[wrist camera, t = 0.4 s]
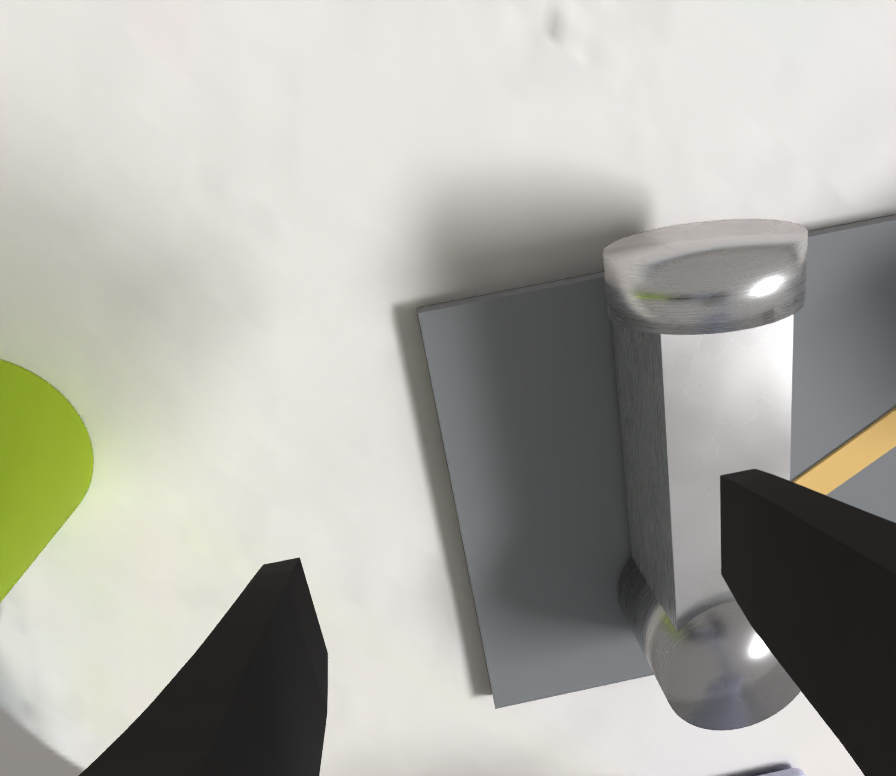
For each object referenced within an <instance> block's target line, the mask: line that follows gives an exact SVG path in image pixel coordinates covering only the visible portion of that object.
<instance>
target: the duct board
mask: <svg viewBox="0 0 896 776" xmlns="http://www.w3.org/2000/svg"><path fill="white" fill-rule="evenodd" d="M417 312H418V317H419V322H420V327H421V332H422V337H423V342H424V347H425V352H426V357H427V363H428V368H429V373H430V378H431V383H432V388H433V393H434V398H435V403H436V408H437V414H438V419H439V424H440V429H441V434H442V439H443V444H444V449H445V454H446V459H447V465H448V470H449V475H450V480H451V485H452V490H453V495H454V500H455V505H456V510H457V516H458V521H459V526H460V531H461V536H462V541H463V546H464V551H465V556H466V561H467V567H468V572H469V577H470V582H471V587H472V592H473V597H474V602H475V607H476V612H477V617H478V623H479V628H480V633H481V638H482V643H483V648H484V653H485V658H486V663H487V668H488V674H489V679H490V684H491V689H492V694H493V699H494V704H495V709H497V708H501V707H506V706H511V705H515V704H520V703H524V702H529V701H534V700H538V699H543V698H548V697H552V696H557V695H562V694H566V693H571V692H576V691H580V690H585V689H590V688H594V687H599V686H603V685H608V684H613V683H617V682H622V681H627V680H631V679H636V678H641V677H645V676H650V675H654V673H653V671H652V669H651V667H650V665H649V663H648V661H647V659H646V657H645V655H644V653H643V651H642V650H641V648H640V646H639V644H638V642H637V640H636V638H635V636H634V634H633V632H632V630H631V628H630V626H629V624H628V622H627V620H626V618H625V616H624V615H623V613H622V611H621V608H620V605H619V602H618V583H619V580H620V576H621V574H622V572H623V569H624V568H625V566H626V564H627V563H628V561H629V560H630V559H631V557H632V554H631V542H630V530H629V518H628V507H627V495H626V483H625V471H624V459H623V447H622V435H621V423H620V411H619V400H618V388H617V376H616V364H615V352H614V340H613V328H612V320H611V319H610V318H609V316H608V311H607V299H606V288H605V276H604V272H599V273H594V274H589V275H584V276H579V277H574V278H569V279H563V280H558V281H553V282H548V283H543V284H538V285H533V286H528V287H522V288H517V289H512V290H507V291H502V292H497V293H492V294H487V295H482V296H476V297H471V298H466V299H461V300H456V301H451V302H446V303H441V304H435V305H430V306H425V307H420V308H417ZM790 481H791V482H794V483H797V484H799V485H802V486H804V487H807V488H809V489H811V490H814V491H816V492H819V493H821V494H824V495H826V496H829V497H831V498H834V499H836V500H839V501H841V502H844V503H846V504H849V505H851V506H854V507H856V508H859V509H861V510H864V511H866V512H869V513H871V514H874V515H876V516H879V517H882V518H884V519H887V520H889V521H892V522H895V523H896V215H891V216H886V217H881V218H876V219H871V220H865V221H860V222H855V223H850V224H845V225H840V226H835V227H830V228H824V229H819V230H814V231H809V232H808V245H807V280H806V303H805V305H804V306H803V308H801V309H800V310H799V311H798V312H796V313H795V314H793V357H792V404H791V451H790Z"/></svg>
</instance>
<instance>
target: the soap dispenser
mask: <svg viewBox="0 0 896 776" xmlns="http://www.w3.org/2000/svg"><path fill="white" fill-rule="evenodd" d="M92 473H93V450H92V445H91V441H90V438H89V435H88V432H87V430H86V427H85V425H84V423H83V421H82V420H81V418H80V416H79V415H78V413H77V412H76V410H75V409H74V408H73V406H72V405H71V404H70V403H69V401H68V400H67V399H66V398H65V397H64V396H63V395H62V394H61V393H60V392H59V391H58V390H56V389H55V388H54V387H53V386H52V385H50V384H49V383H48V382H46V381H45V380H43V379H42V378H40V377H39V376H37V375H36V374H34V373H32V372H30V371H28V370H26V369H24V368H22V367H20V366H17V365H15V364H12V363H10V362H6V361H3V360H0V603H1V601H2V600H3V599H4V598H5V596H6V595H7V594H8V593H9V591H10V590H11V589H12V588H13V586H14V585H15V584H16V583H17V581H18V580H19V579H20V578H21V576H22V575H23V574H24V573H25V571H26V570H27V569H28V568H29V566H30V565H31V564H32V563H33V561H34V560H35V559H36V558H37V556H38V555H39V554H40V553H41V551H42V550H43V549H44V548H45V547H46V545H47V544H48V543H49V542H50V540H51V539H52V538H53V537H54V535H55V534H56V533H57V532H58V530H59V529H60V528H61V527H62V525H63V524H64V523H65V522H66V520H67V519H68V518H69V517H70V515H71V514H72V513H73V512H74V510H75V509H76V508H77V507H78V505H79V504H80V503H81V501H82V500H83V498H84V496H85V495H86V493H87V490H88V488H89V485H90V482H91V478H92Z"/></svg>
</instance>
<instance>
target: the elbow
mask: <svg viewBox="0 0 896 776" xmlns="http://www.w3.org/2000/svg"><path fill="white" fill-rule="evenodd" d="M807 245H808V230H807V229H806V228H805V227H804V226H802V225H799V224H796V223H792V222H787V221H780V220H767V219H732V220H716V221H705V222H696V223H688V224H681V225H674V226H669V227H663V228H658V229H653V230H649V231H645V232H641V233H637V234H634V235H630V236H627V237H624V238H622V239H619V240H617V241H615V242H613V243H611V244H609V245H608V246H606V247H605V248H604V250H603V264H604V276H605V288H606V299H607V311H608V316H609V318H610V319H611V320H612V328H613V340H614V352H615V364H616V376H617V388H618V400H619V411H620V423H621V435H622V447H623V459H624V471H625V483H626V495H627V507H628V518H629V530H630V542H631V554H632V557H631V559H630V560H629V561H628V563H627V564H626V566H625V568H624V569H623V572H622V574H621V576H620V580H619V583H618V602H619V605H620V608H621V611H622V613H623V615H624V616H625V618H626V620H627V622H628V624H629V626H630V628H631V630H632V632H633V634H634V636H635V638H636V640H637V642H638V644H639V646H640V648H641V650H642V651H643V653H644V655H645V657H646V659H647V661H648V663H649V665H650V667H651V669H652V671H653V673H654V675H655V677H656V679H657V681H658V683H659V685H660V686H661V688H662V690H663V692H664V694H665V696H666V698H667V700H668V702H669V704H670V706H671V707H672V709H673V710H674V711H675V713H676V714H677V715H678V716H679V717H681V718H682V719H683V720H685V721H686V722H688V723H690V724H692V725H694V726H697V727H700V728H704V729H710V730H733V729H739V728H743V727H747V726H751V725H753V724H756V723H759V722H761V721H763V720H765V719H767V718H769V717H771V716H773V715H774V714H776V713H777V712H779V711H780V710H782V709H783V708H784V707H786V706H787V705H788V704H789V703H790V702H791V701H792V700H793V699H794V698H795V697H796V696H797V695H798V694H799V692H800V691H801V690H800V689H799V688H798V686H797V685H796V684H795V683H794V681H793V680H792V679H791V677H790V676H789V675H788V674H787V672H786V671H785V670H784V668H783V667H782V666H781V665H780V663H779V662H778V661H777V659H776V658H775V657H774V655H773V654H772V653H771V651H770V650H769V649H768V648H767V646H766V645H765V644H764V642H763V641H762V640H761V638H760V637H759V636H758V634H757V633H756V632H755V630H754V629H753V628H752V626H751V625H750V623H749V621H748V620H747V618H746V617H745V615H744V613H743V612H742V610H741V608H740V607H739V605H738V603H737V602H736V600H735V598H734V596H733V594H732V593H731V591H730V589H729V587H728V586H727V584H726V582H725V580H724V578H723V577H722V575H721V518H720V475H724V474H730V473H735V472H740V471H745V470H750V469H758V470H761V471H764V472H767V473H770V474H773V475H776V476H778V477H781V478H784V479H786V480H789V481H790V451H791V404H792V357H793V314H795V313H796V312H798V311H799V310H800V309H801V308H803V306H804V305H805V303H806V280H807Z"/></svg>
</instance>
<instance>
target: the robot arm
mask: <svg viewBox="0 0 896 776" xmlns="http://www.w3.org/2000/svg"><path fill="white" fill-rule="evenodd" d="M720 518H721V575H722V577H723V578H724V580H725V582H726V584H727V586H728V587H729V589H730V591H731V593H732V594H733V596H734V598H735V600H736V602H737V603H738V605H739V607H740V608H741V610H742V612H743V613H744V615H745V617H746V618H747V620H748V621H749V623H750V625H751V626H752V628H753V629H754V630H755V632H756V633H757V634H758V636H759V637H760V638H761V640H762V641H763V642H764V644H765V645H766V646H767V648H768V649H769V650H770V651H771V653H772V654H773V655H774V657H775V658H776V659H777V661H778V662H779V663H780V665H781V666H782V667H783V668H784V670H785V671H786V672H787V674H788V675H789V676H790V677H791V679H792V680H793V681H794V683H795V684H796V685H797V686H798V688H799V689H800V690H801V692H802V693H803V694H804V695H805V697H806V698H807V699H808V701H809V702H810V703H811V704H812V706H813V707H814V708H815V710H816V711H817V712H818V713H819V715H820V716H821V717H822V719H823V720H824V721H825V722H826V724H827V725H828V726H829V728H830V729H831V730H832V731H833V733H834V734H835V735H836V737H837V738H838V739H839V740H840V742H841V743H842V744H843V746H844V747H845V749H846V750H847V751H848V753H849V754H850V756H851V757H852V758H853V760H854V761H855V762H856V764H857V765H858V767H859V768H860V769H861V771H862V772H863V774H864V775H865V776H896V523H895V522H892V521H889V520H887V519H884V518H882V517H879V516H876V515H874V514H871V513H869V512H866V511H864V510H861V509H859V508H856V507H854V506H851V505H849V504H846V503H844V502H841V501H839V500H836V499H834V498H831V497H829V496H826V495H824V494H821V493H819V492H816V491H814V490H811V489H809V488H807V487H804V486H802V485H799V484H797V483H794V482H791V481H789V480H786V479H784V478H781V477H778V476H776V475H773V474H770V473H767V472H764V471H761V470H758V469H750V470H745V471H740V472H735V473H730V474H724V475H720ZM327 695H328V653H327V649H326V646H325V642H324V639H323V636H322V632H321V629H320V625H319V622H318V618H317V615H316V612H315V608H314V605H313V601H312V598H311V595H310V591H309V588H308V584H307V581H306V577H305V574H304V571H303V567H302V564H301V560H300V558H295V559H290V560H285V561H280V562H275V563H269V564H264V565H263V566H262V567H261V568H260V570H259V571H258V572H257V573H256V575H255V576H254V577H253V579H252V580H251V581H250V582H249V584H248V585H247V586H246V588H245V589H244V590H243V592H242V593H241V594H240V596H239V597H238V598H237V600H236V601H235V602H234V604H233V605H232V606H231V608H230V609H229V610H228V612H227V613H226V614H225V616H224V617H223V618H222V619H221V621H220V622H219V623H218V624H217V626H216V627H215V628H214V630H213V631H212V632H211V633H210V635H209V636H208V637H207V639H206V640H205V641H204V642H203V644H202V645H201V646H200V647H199V649H198V650H197V651H196V652H195V654H194V655H193V656H192V657H191V658H190V659H189V661H188V662H187V663H186V664H185V665H184V666H183V667H182V669H181V670H180V671H179V672H178V673H177V674H176V676H175V677H174V678H173V679H172V680H171V681H170V683H169V684H168V685H167V686H166V687H165V688H164V689H163V691H162V692H161V693H160V694H159V695H158V696H157V698H156V699H155V700H154V701H153V702H152V703H151V704H150V705H149V706H148V708H147V709H146V710H145V711H144V712H143V713H142V714H141V715H140V716H139V717H138V718H137V719H136V720H135V721H134V722H133V723H132V724H131V725H130V726H129V728H128V729H127V730H126V731H125V732H124V733H123V734H122V735H121V736H120V737H119V738H117V739H116V740H115V741H114V742H113V743H112V744H111V745H110V746H109V747H108V748H107V749H106V750H105V751H104V752H103V753H102V754H101V755H100V756H99V757H98V758H97V759H96V760H95V761H94V762H93V763H92V764H91V765H90V766H89V767H88V768H87V769H85V770H84V771H83V772H82V773H81V774H80V775H79V776H319V772H320V765H321V757H322V750H323V742H324V734H325V726H326V718H327ZM758 776H805V774H804V773H803V771H802V770H801V769H798V768H790V769H785V770H781V771H776V772H772V773H767V774H763V775H758Z"/></svg>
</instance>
